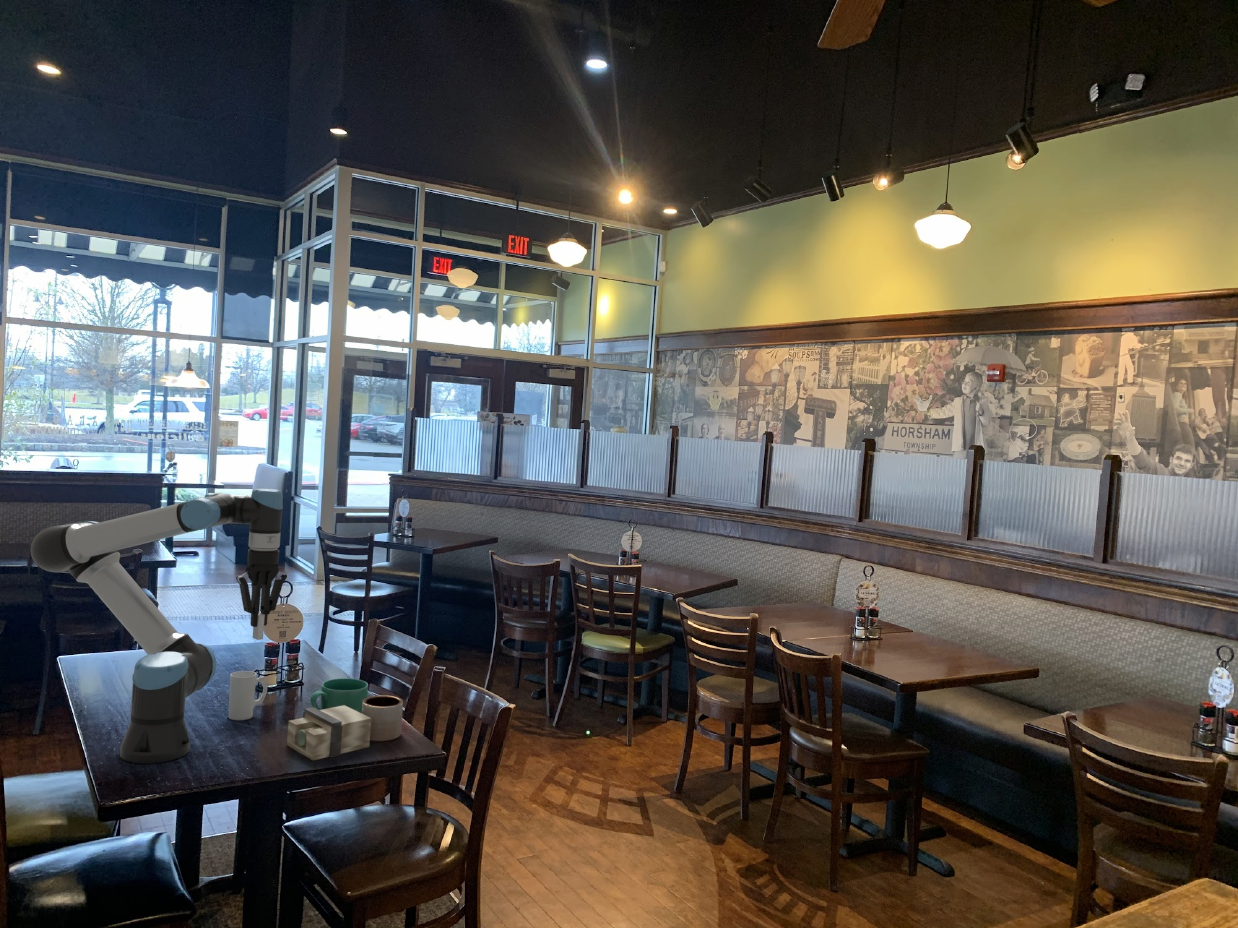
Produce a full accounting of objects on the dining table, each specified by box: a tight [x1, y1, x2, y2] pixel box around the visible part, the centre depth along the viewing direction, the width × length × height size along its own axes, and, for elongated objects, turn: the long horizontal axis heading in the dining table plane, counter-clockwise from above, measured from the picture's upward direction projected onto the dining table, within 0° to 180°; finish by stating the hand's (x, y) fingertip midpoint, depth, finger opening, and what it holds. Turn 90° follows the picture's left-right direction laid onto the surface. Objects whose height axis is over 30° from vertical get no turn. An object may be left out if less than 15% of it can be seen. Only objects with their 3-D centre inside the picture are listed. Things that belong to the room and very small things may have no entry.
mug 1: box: [227, 670, 268, 721], centre depth 243 cm, size 10×7×12 cm, turn 127°
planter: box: [362, 694, 404, 743], centre depth 236 cm, size 11×11×10 cm
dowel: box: [297, 726, 323, 746], centre depth 225 cm, size 14×4×4 cm, turn 139°
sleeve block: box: [286, 705, 371, 761], centre depth 226 cm, size 16×15×9 cm
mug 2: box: [310, 677, 369, 713], centre depth 248 cm, size 17×12×10 cm
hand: (257, 638), depth 226 cm, fingers closed
